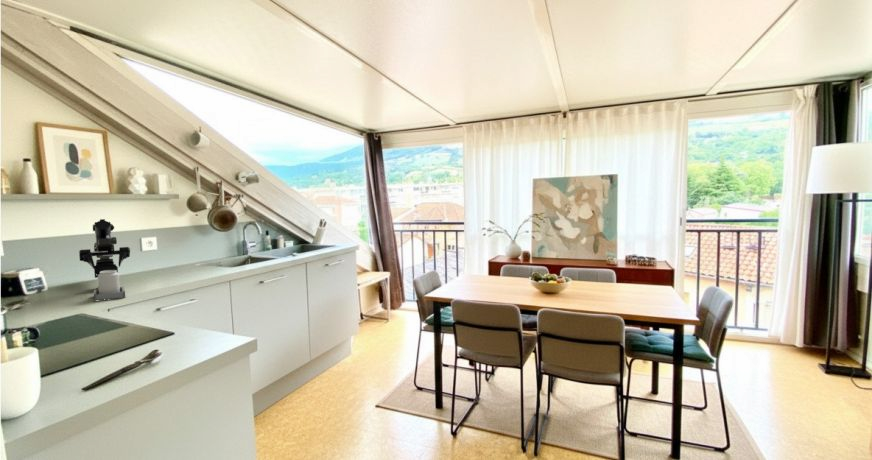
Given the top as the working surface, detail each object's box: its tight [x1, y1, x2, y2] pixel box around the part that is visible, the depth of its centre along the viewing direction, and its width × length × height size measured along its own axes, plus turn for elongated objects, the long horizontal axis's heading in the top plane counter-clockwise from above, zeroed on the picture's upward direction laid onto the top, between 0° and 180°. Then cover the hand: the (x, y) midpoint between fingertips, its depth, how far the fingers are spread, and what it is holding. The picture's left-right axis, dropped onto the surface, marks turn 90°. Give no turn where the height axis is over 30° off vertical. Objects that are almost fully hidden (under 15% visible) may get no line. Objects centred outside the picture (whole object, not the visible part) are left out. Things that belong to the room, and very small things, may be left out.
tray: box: [93, 286, 126, 301], centre depth 180 cm, size 11×11×3 cm
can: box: [97, 270, 121, 294], centre depth 180 cm, size 8×8×12 cm
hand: (107, 267), depth 184 cm, fingers open, 9 cm apart
